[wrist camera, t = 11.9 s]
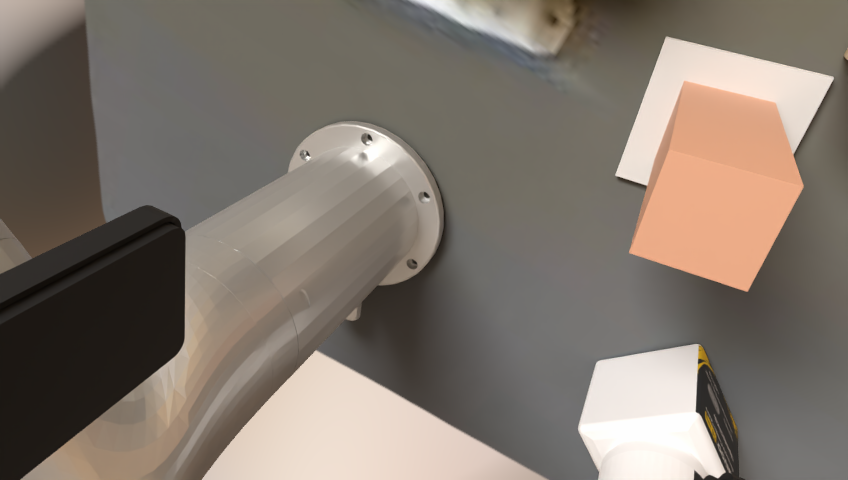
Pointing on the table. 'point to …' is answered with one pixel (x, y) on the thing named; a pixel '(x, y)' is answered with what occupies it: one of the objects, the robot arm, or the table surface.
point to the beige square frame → (846, 54)
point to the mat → (723, 71)
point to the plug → (718, 187)
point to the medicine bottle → (659, 418)
